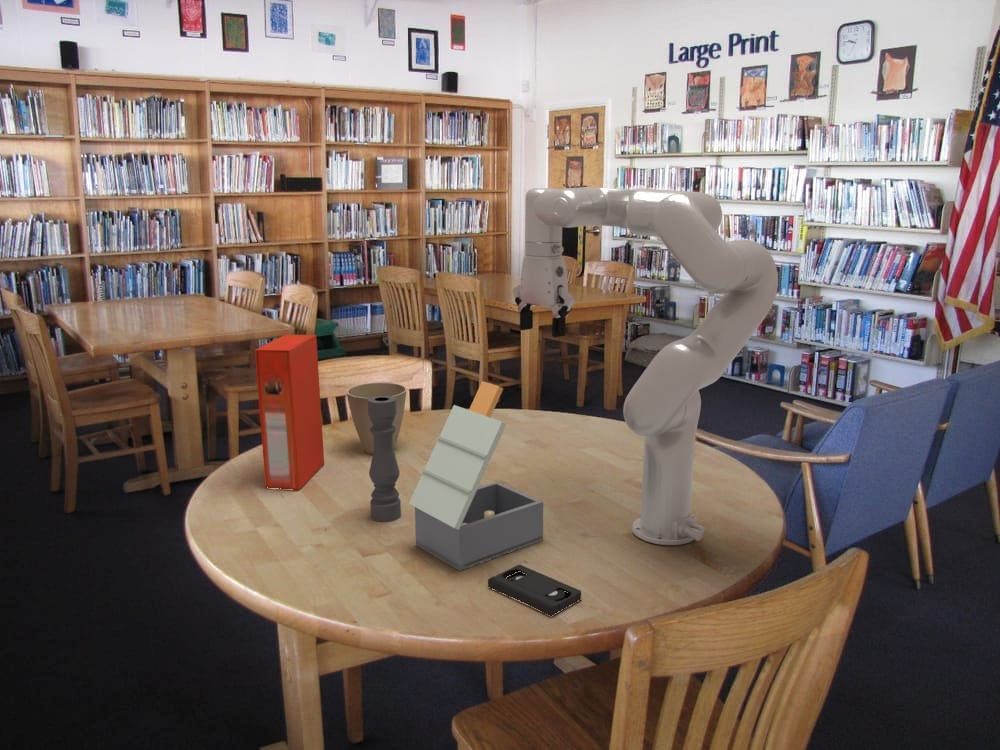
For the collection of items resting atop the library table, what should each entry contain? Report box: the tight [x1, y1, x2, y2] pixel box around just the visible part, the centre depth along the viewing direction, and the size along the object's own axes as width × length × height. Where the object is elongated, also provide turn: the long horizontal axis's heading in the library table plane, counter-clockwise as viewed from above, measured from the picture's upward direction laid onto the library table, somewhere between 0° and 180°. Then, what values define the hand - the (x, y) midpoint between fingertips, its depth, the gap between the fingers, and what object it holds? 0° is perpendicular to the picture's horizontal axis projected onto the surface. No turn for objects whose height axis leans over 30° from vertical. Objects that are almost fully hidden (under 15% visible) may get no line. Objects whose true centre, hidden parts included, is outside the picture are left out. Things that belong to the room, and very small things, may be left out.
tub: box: [414, 481, 544, 572], centre depth 162 cm, size 14×20×8 cm
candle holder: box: [368, 396, 402, 523], centre depth 172 cm, size 6×6×25 cm
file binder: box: [254, 334, 325, 491], centre depth 194 cm, size 8×17×32 cm, turn 173°
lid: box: [408, 381, 507, 530], centre depth 156 cm, size 14×26×2 cm
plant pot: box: [346, 382, 407, 455], centre depth 214 cm, size 15×15×16 cm
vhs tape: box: [487, 564, 582, 616], centre depth 143 cm, size 14×8×2 cm, turn 46°
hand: (542, 332), depth 177 cm, fingers open, 9 cm apart
